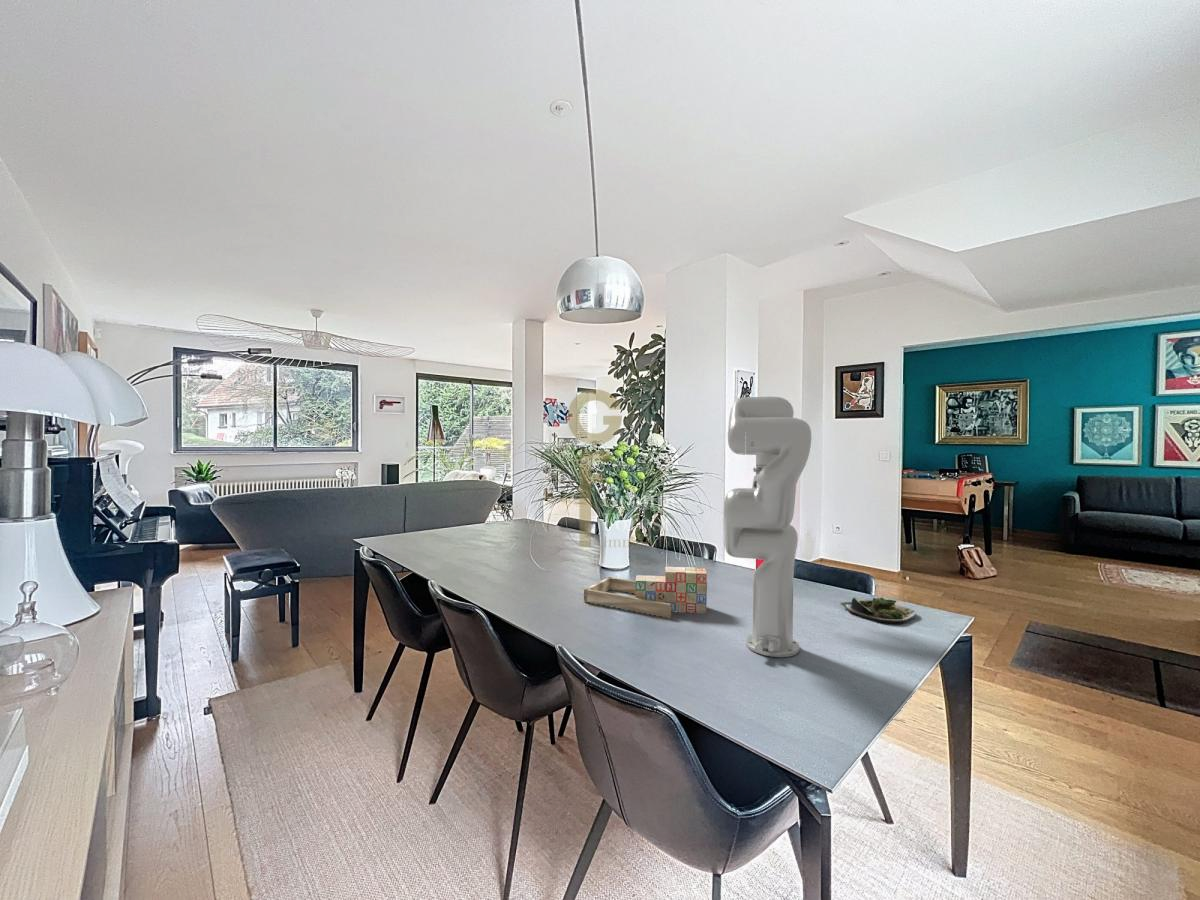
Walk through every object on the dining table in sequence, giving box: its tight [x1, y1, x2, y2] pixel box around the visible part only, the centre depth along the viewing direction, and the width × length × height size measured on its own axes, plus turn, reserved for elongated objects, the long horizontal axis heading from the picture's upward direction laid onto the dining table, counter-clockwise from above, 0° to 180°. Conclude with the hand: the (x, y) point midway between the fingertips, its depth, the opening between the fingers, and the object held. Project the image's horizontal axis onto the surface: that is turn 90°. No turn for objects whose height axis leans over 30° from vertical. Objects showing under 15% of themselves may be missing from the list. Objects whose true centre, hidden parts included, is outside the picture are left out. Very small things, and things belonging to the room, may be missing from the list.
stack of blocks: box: [634, 566, 708, 614], centre depth 157 cm, size 21×6×12 cm, turn 82°
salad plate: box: [840, 597, 917, 626], centre depth 154 cm, size 19×18×5 cm
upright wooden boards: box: [583, 576, 672, 619], centre depth 163 cm, size 16×29×4 cm, turn 60°
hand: (768, 527), depth 156 cm, fingers open, 9 cm apart
